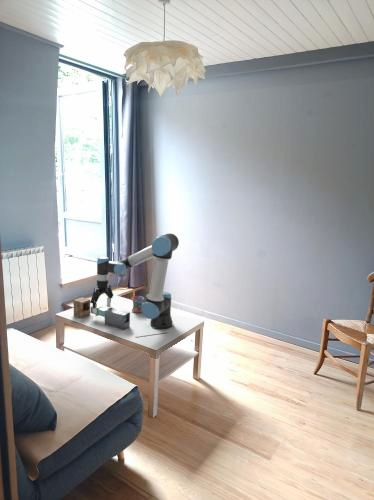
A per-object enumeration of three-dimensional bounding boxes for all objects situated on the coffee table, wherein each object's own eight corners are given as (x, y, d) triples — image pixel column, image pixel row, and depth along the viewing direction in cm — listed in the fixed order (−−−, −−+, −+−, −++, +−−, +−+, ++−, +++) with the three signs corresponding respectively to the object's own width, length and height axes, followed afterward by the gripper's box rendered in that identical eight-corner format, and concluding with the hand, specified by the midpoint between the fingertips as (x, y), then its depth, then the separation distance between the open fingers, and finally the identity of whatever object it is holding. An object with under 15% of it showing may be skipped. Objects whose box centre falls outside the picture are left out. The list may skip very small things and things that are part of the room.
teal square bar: (127, 320, 247) (127, 312, 246) (122, 323, 242) (122, 315, 241) (95, 311, 260) (95, 303, 259) (89, 314, 255) (89, 306, 254)
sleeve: (129, 327, 247) (130, 312, 245) (123, 330, 242) (123, 315, 240) (111, 321, 255) (111, 307, 253) (104, 324, 249) (104, 310, 247)
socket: (90, 314, 265) (90, 299, 263) (82, 318, 258) (81, 302, 256) (82, 312, 269) (81, 297, 267) (73, 315, 262) (73, 300, 260)
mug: (136, 314, 270) (137, 300, 268) (128, 311, 276) (129, 297, 274) (149, 310, 279) (149, 297, 277) (141, 307, 285) (141, 294, 283)
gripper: (110, 274, 261) (109, 303, 266) (84, 282, 240) (84, 313, 244) (119, 277, 258) (118, 305, 262) (93, 284, 236) (93, 316, 241)
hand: (101, 309), depth 253 cm, fingers open, 13 cm apart
